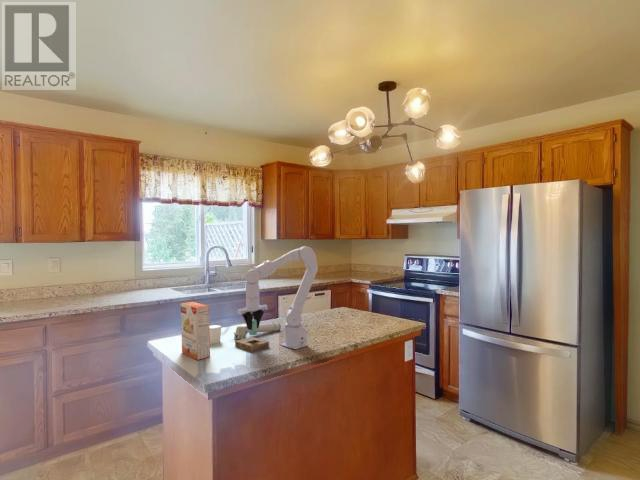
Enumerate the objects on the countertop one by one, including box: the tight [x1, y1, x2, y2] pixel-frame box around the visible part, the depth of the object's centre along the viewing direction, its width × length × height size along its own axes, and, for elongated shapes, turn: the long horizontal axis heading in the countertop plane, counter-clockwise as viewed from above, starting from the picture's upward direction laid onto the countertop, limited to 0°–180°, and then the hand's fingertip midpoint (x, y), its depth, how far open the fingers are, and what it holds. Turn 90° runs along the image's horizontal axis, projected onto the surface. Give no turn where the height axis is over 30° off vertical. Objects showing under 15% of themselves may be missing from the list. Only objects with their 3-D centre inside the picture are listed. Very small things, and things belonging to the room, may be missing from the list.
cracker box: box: [180, 301, 211, 361], centre depth 150 cm, size 14×6×21 cm, turn 45°
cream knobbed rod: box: [233, 322, 282, 340], centre depth 180 cm, size 5×7×25 cm
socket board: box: [234, 336, 270, 353], centre depth 161 cm, size 12×9×2 cm
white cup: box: [209, 324, 222, 344], centre depth 170 cm, size 7×7×7 cm
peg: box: [248, 318, 258, 336], centre depth 160 cm, size 3×3×6 cm
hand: (253, 328), depth 160 cm, fingers closed on peg, 3 cm apart
